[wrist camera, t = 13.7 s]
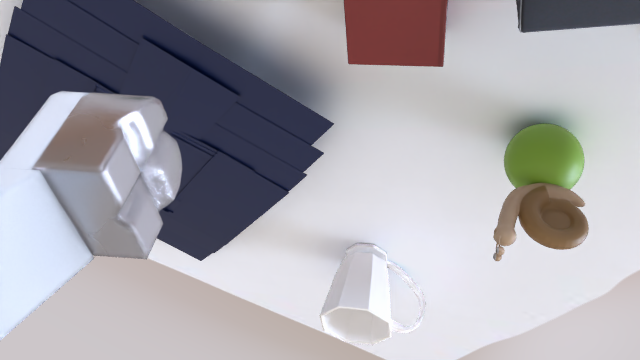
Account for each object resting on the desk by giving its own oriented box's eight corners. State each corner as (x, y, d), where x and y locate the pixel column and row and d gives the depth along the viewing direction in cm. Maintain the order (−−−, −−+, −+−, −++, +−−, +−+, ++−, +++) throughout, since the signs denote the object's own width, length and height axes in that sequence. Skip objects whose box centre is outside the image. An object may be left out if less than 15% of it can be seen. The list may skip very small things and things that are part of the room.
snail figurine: (500, 101, 43) (505, 230, 35) (590, 114, 43) (617, 248, 35) (482, 153, 47) (483, 280, 39) (564, 166, 47) (583, 297, 39)
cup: (344, 226, 57) (330, 298, 52) (440, 257, 58) (437, 331, 53) (324, 263, 62) (309, 332, 57) (413, 291, 63) (407, 361, 58)
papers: (363, 110, 44) (353, 146, 42) (212, 241, 67) (200, 269, 65) (49, -91, 37) (18, -59, 35) (-2, 133, 60) (-22, 160, 58)
